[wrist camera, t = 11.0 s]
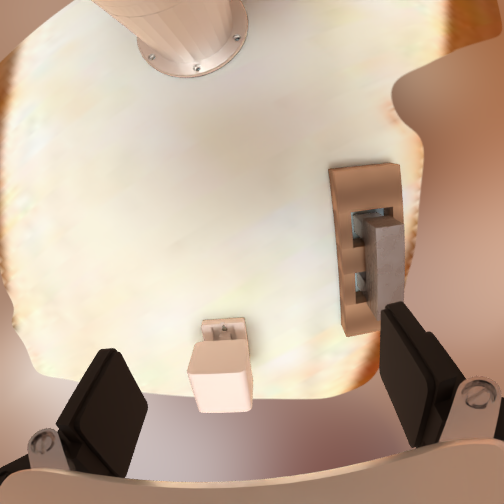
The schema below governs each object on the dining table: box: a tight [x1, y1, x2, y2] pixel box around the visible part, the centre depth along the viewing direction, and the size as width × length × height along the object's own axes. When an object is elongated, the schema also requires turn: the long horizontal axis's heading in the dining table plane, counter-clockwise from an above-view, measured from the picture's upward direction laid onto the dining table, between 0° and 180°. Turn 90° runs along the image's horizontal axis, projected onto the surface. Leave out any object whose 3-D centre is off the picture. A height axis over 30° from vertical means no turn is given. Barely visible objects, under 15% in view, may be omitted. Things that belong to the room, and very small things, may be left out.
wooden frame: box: [328, 163, 404, 337], centre depth 36 cm, size 20×8×3 cm, turn 10°
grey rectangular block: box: [353, 212, 405, 321], centre depth 34 cm, size 10×3×8 cm, turn 10°
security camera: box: [187, 318, 253, 413], centre depth 37 cm, size 6×7×10 cm
